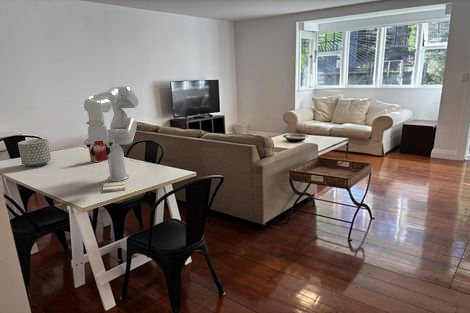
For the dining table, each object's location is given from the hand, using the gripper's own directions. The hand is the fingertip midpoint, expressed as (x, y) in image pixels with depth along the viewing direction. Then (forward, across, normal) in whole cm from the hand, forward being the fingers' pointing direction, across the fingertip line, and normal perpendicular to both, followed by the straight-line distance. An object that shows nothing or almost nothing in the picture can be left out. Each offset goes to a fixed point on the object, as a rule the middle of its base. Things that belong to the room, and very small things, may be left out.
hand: (101, 154), depth 183 cm
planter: (+22, -55, +76) cm, 96 cm away
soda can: (+4, 0, 0) cm, 4 cm away
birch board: (+21, +4, +2) cm, 21 cm away
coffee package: (+22, -11, +72) cm, 76 cm away
